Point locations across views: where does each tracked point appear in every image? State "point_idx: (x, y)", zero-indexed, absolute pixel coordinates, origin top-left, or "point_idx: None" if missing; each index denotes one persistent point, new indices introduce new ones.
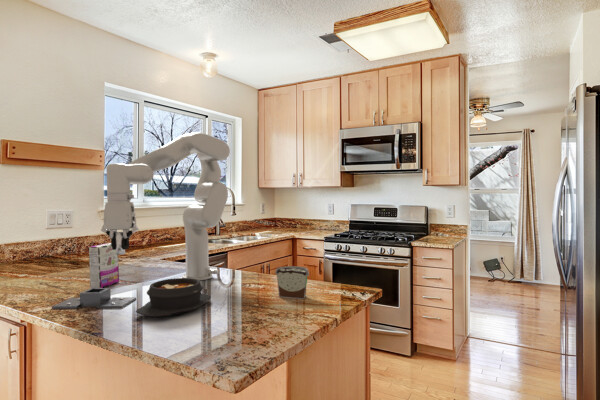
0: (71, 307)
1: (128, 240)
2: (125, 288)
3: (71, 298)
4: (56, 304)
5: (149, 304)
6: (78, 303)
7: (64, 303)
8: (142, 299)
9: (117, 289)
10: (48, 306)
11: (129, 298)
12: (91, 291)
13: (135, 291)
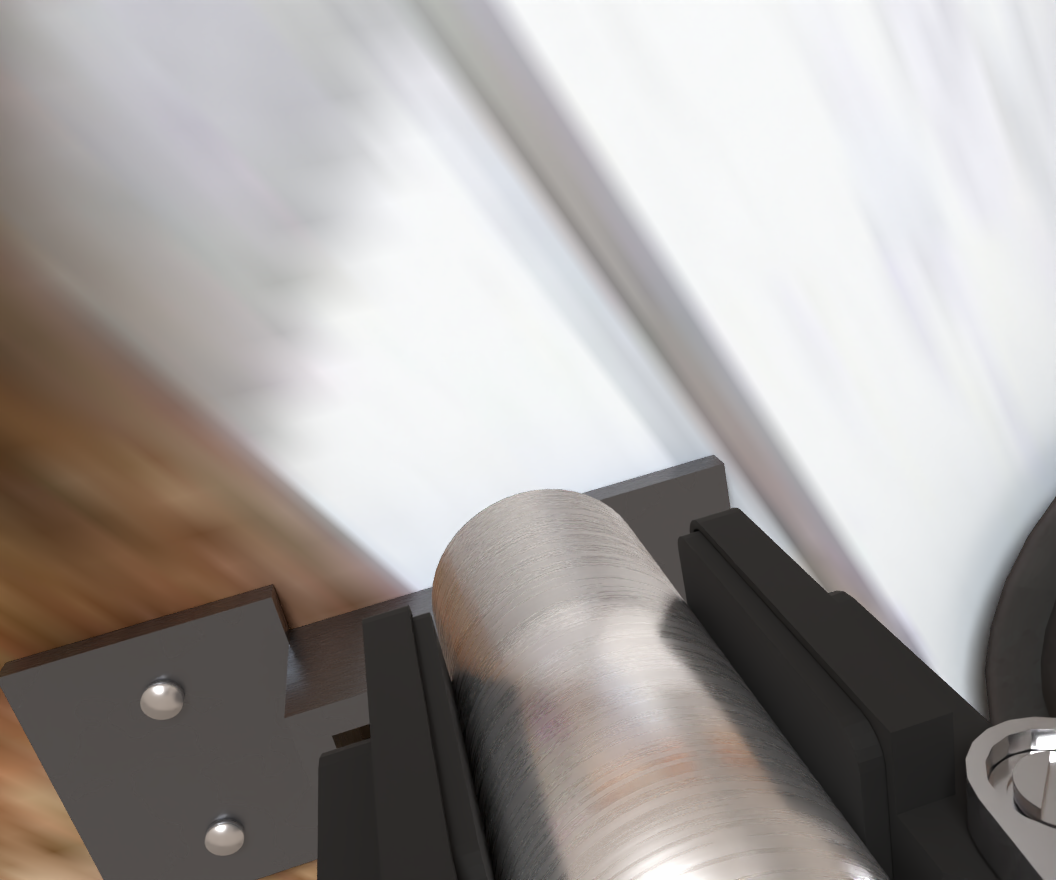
0: (315, 850)
1: (958, 727)
2: (202, 4)
3: (33, 699)
4: (107, 878)
5: (1030, 706)
6: (300, 788)
7: (154, 832)
8: (769, 427)
9: (126, 88)
10: (6, 874)
11: (683, 516)
12: (337, 735)
13: (479, 140)
